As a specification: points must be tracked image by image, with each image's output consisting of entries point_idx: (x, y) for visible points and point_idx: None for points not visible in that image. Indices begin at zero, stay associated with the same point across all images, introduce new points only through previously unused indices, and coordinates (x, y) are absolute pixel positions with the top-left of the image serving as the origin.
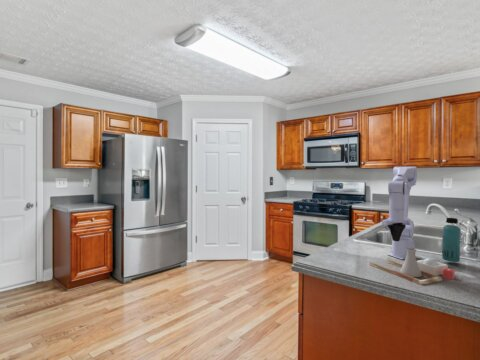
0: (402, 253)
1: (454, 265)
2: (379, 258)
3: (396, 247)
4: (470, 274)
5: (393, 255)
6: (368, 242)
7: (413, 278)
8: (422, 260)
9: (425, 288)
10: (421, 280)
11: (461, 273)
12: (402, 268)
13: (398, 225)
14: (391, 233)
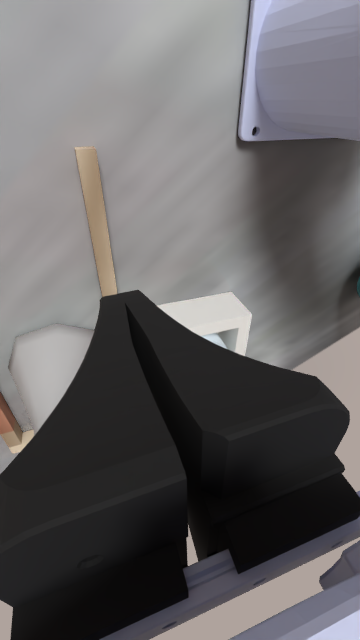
0: (286, 118)
1: (349, 290)
2: (89, 4)
3: (305, 60)
4: (282, 367)
5: (261, 27)
6: None
7: (1, 433)
8: (202, 332)
9: (5, 461)
10: (22, 446)
11: (268, 359)
12: (19, 368)
13: (202, 538)
14: (90, 353)
